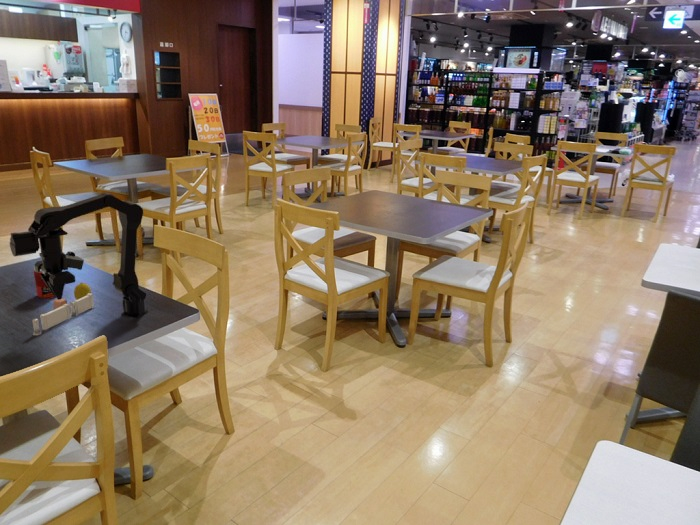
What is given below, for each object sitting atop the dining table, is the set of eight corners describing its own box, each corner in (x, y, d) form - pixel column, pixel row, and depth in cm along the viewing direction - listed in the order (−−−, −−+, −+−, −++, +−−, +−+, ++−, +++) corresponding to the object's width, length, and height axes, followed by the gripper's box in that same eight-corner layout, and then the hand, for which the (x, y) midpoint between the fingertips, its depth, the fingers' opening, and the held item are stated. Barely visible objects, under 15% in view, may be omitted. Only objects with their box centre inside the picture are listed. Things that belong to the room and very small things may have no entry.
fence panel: (94, 307, 194) (92, 294, 193) (79, 314, 188) (77, 300, 186) (90, 306, 195) (88, 293, 193) (75, 314, 188) (73, 300, 187)
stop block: (67, 307, 193) (66, 299, 192) (60, 310, 191) (59, 302, 190) (60, 305, 194) (59, 298, 193) (54, 308, 192) (53, 301, 191)
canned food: (43, 300, 198) (39, 272, 194) (33, 295, 202) (29, 267, 199) (64, 295, 204) (61, 267, 200) (54, 289, 208) (50, 262, 205)
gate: (67, 316, 185) (65, 303, 183) (70, 317, 185) (69, 304, 183) (41, 328, 175) (39, 315, 174) (45, 329, 175) (43, 316, 174)
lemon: (72, 304, 196) (69, 283, 194) (85, 299, 201) (83, 279, 198) (82, 307, 194) (79, 286, 191) (95, 302, 198) (93, 282, 196)
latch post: (43, 333, 174) (41, 318, 172) (37, 336, 172) (35, 321, 170) (37, 331, 175) (35, 317, 173) (31, 334, 172) (29, 320, 171)
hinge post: (77, 315, 187) (75, 302, 186) (73, 317, 186) (72, 303, 184) (73, 314, 188) (72, 301, 186) (70, 316, 186) (68, 303, 185)
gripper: (90, 253, 165) (95, 300, 170) (68, 239, 178) (74, 283, 183) (50, 259, 158) (57, 309, 163) (31, 244, 171) (37, 291, 175)
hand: (57, 297), depth 171 cm, fingers open, 3 cm apart
